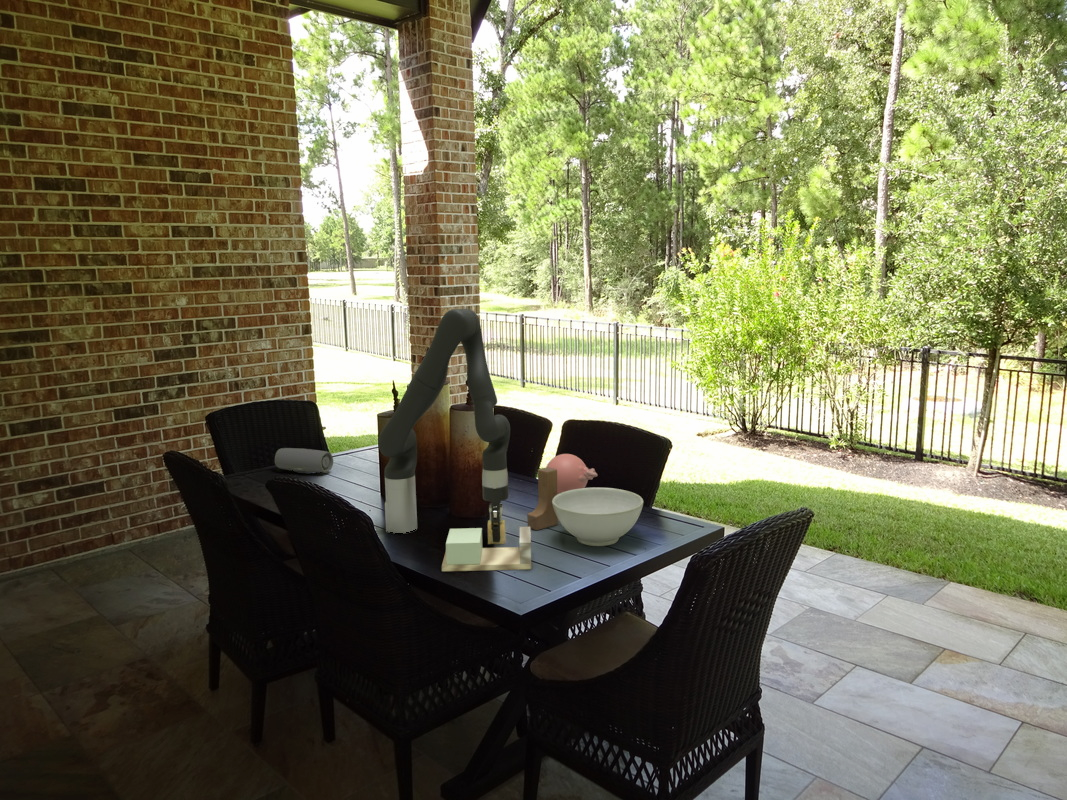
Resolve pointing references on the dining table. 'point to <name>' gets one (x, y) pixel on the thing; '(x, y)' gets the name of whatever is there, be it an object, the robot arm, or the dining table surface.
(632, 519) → the decorative bowl
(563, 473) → the balloon
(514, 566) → the vise
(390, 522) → the robot arm
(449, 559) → the block
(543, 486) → the wooden block
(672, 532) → the dining table surface
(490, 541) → the brass block
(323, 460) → the bluetooth speaker
